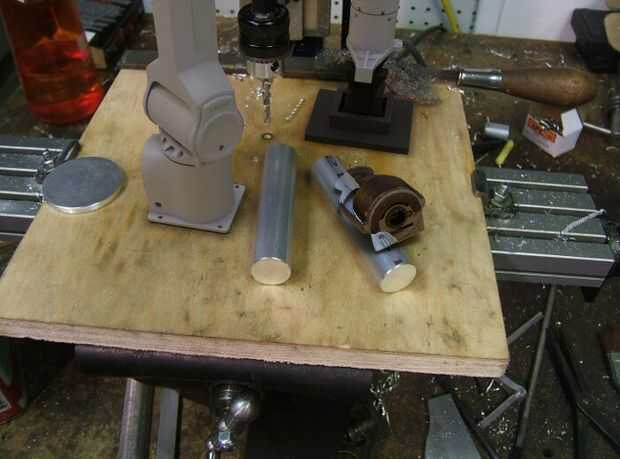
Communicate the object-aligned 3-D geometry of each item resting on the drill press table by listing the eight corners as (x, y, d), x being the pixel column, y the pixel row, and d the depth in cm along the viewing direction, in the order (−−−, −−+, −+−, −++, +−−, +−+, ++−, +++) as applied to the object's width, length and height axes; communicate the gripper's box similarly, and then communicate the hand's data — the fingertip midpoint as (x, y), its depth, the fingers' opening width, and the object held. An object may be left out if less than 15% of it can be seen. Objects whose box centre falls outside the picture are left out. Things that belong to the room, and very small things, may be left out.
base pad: (304, 140, 76) (305, 121, 74) (319, 94, 84) (320, 76, 82) (407, 154, 74) (411, 136, 72) (412, 106, 83) (415, 88, 81)
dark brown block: (343, 118, 77) (345, 92, 74) (347, 102, 80) (349, 77, 77) (379, 123, 76) (383, 97, 74) (382, 107, 79) (385, 82, 76)
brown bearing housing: (332, 222, 57) (431, 208, 56) (326, 138, 65) (412, 124, 64) (341, 262, 62) (432, 251, 61) (335, 180, 71) (414, 168, 69)
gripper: (404, 36, 62) (387, 137, 72) (411, -15, 72) (396, 79, 82) (341, 28, 63) (333, 129, 72) (357, -21, 73) (348, 73, 82)
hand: (363, 102), depth 77 cm, fingers closed on dark brown block, 4 cm apart
